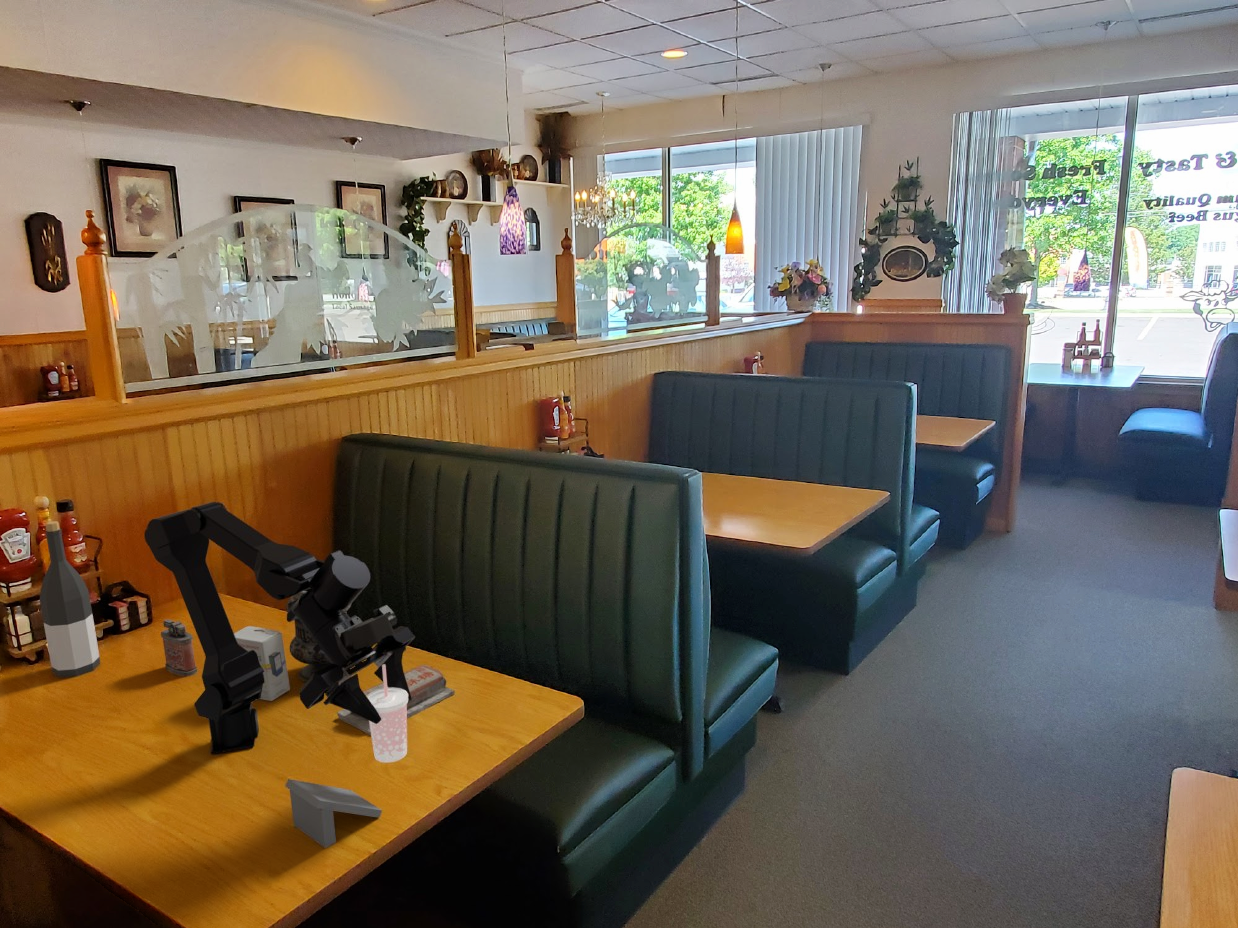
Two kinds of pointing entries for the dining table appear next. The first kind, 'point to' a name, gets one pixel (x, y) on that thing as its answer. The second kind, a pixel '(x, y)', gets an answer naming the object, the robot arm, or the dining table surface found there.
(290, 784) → the ramp
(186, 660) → the lighter
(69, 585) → the wine bottle
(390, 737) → the beverage cup
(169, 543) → the robot arm
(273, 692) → the ink box
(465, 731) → the dining table surface
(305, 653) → the apothecary jar
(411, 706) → the packaged product
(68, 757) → the dining table surface
